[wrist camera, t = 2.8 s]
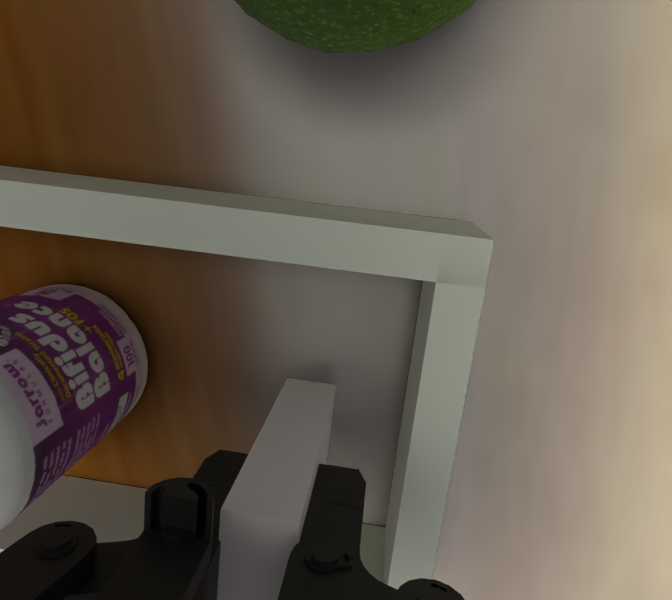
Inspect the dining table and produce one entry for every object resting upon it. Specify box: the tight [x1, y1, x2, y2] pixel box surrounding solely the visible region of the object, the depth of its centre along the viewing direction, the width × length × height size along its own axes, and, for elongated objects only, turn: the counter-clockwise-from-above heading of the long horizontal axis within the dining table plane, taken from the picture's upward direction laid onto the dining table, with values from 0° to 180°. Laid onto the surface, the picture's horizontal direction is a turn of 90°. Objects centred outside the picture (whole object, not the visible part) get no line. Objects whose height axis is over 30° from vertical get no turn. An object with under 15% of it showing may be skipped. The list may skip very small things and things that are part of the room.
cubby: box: [0, 166, 494, 589], centre depth 17 cm, size 12×17×4 cm
